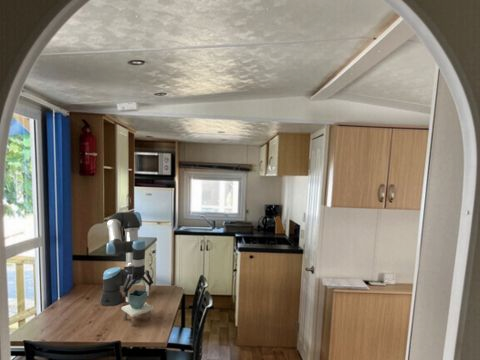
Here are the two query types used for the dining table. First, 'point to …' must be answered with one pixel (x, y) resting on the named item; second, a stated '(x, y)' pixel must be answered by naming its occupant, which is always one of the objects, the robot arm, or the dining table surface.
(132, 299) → the flower pot
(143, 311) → the footstool
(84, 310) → the dining table surface
